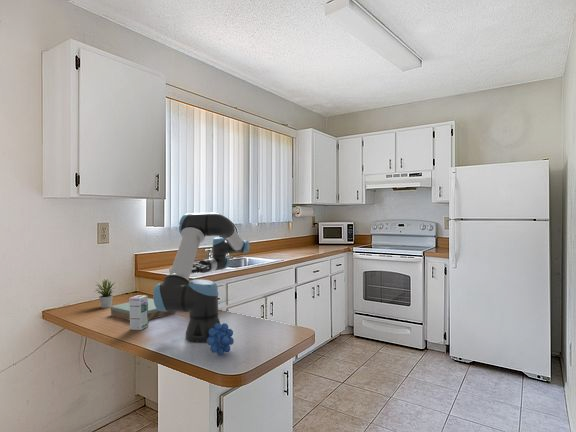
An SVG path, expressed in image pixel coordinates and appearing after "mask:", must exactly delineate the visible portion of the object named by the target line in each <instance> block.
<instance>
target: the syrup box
mask: <svg viewBox="0 0 576 432" xmlns="http://www.w3.org/2000/svg"><path fill="white" fill-rule="evenodd" d="M148 298H149V297H148V295H146V294H138V295H135V296H131V297H129V301H128V302H129V307H130V320H129V329H130V330H132V331H133V330H134V331H142V330H143V329H145V328H148V327H149V320H148Z"/></svg>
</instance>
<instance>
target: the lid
mask: <svg viewBox="0 0 576 432" xmlns="http://www.w3.org/2000/svg"><path fill="white" fill-rule="evenodd" d="M109 309H110V311H111V310H115V311H119V312H123V313H128V314H130V307H129V301H128V302H124V303H120V304H114V305H111V306H110V307H109ZM157 311H159V310H158V309H157V308H156V307H155V304H154V299H153V298H149V297H148V314H149V313H153V312H157Z"/></svg>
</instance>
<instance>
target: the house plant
mask: <svg viewBox="0 0 576 432" xmlns="http://www.w3.org/2000/svg"><path fill="white" fill-rule="evenodd" d="M114 284H115V282H113V283H112V284H111V281H110V280H109V278H107V279H104V280H102V285H101V284H100V283H99V282H96V286H97V287H98V288H95V291H93V292H94V293H95V292H97V294H100V295H99V297H98V299H99V303H100V307H101V309H108V308H107V307H109V308H110V306H113V305H112V303H113V297H114V295H113V294H112V293H113V292H115V290H114V291H113V289H115V287H114ZM112 287H113V288H112Z"/></svg>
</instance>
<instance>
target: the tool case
mask: <svg viewBox="0 0 576 432" xmlns="http://www.w3.org/2000/svg"><path fill="white" fill-rule="evenodd" d="M171 314H175V312H166V311H157V312H153V313H149V314H148V321H149V320H152V319H153V320H154V319H156V318H160V317H163V316H168V315H171ZM110 316H112V317H116V318H119V319H120V318H121V319H124V320H128V321H130V314H128V313H123V312H119V311H115V310H111V309H110Z"/></svg>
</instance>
